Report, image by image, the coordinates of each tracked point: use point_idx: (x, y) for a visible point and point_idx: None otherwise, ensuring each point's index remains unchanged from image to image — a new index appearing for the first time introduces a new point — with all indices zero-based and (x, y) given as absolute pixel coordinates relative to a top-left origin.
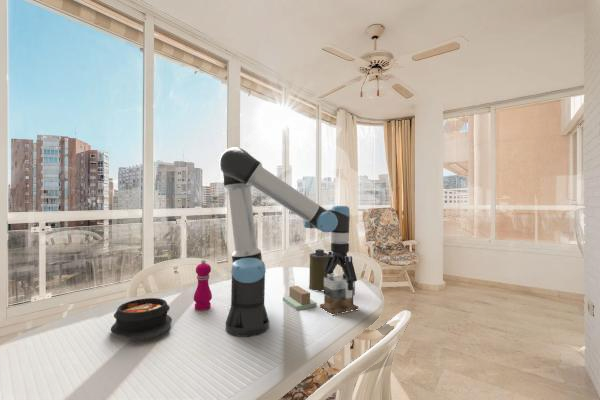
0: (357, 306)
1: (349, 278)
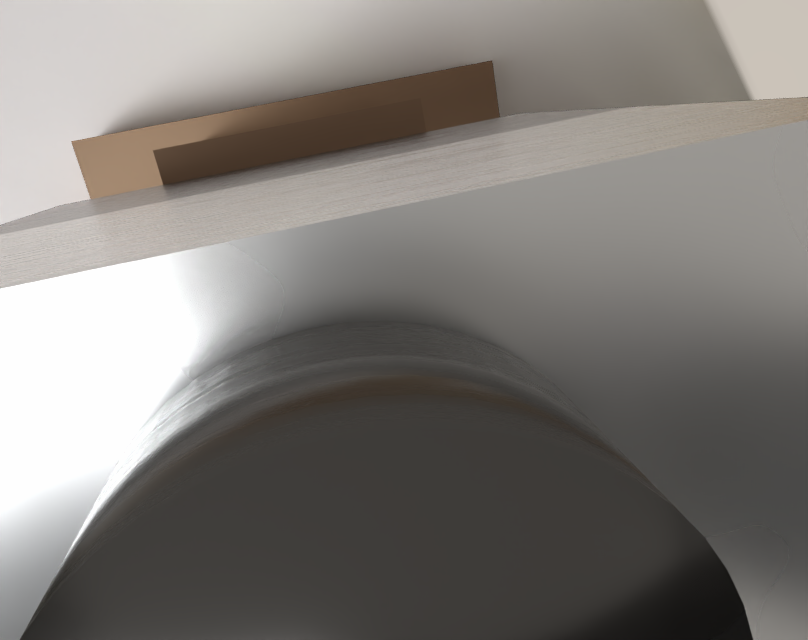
0: (486, 69)
1: (751, 479)
